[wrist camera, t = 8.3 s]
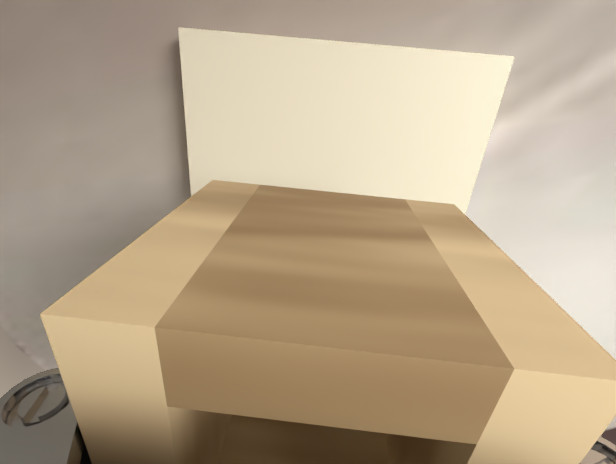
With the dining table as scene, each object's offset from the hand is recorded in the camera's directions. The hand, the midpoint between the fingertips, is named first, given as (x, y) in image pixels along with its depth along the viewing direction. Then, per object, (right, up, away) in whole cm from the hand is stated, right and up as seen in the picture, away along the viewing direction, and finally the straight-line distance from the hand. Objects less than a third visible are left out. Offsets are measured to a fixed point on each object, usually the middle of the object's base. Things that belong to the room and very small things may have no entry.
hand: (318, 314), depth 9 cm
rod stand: (+1, +4, +8) cm, 9 cm away
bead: (0, 0, +1) cm, 1 cm away
